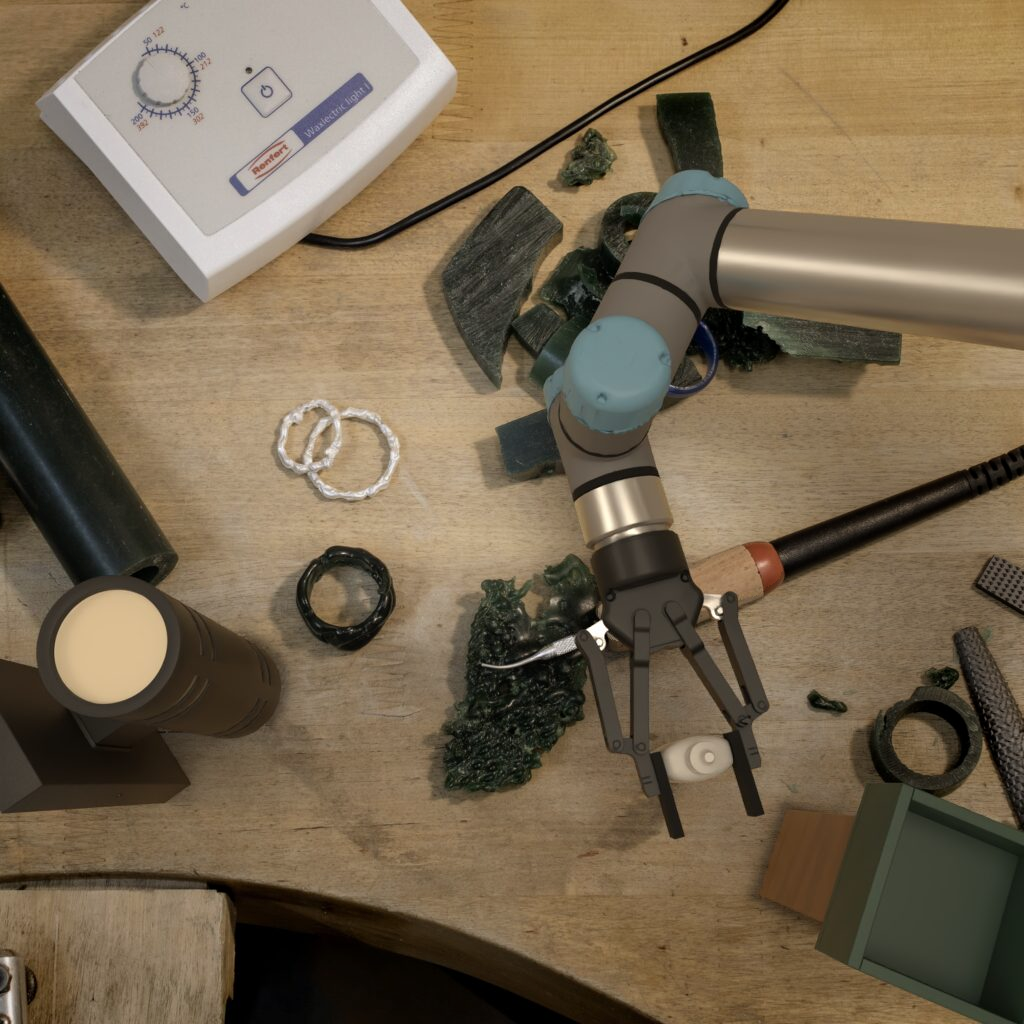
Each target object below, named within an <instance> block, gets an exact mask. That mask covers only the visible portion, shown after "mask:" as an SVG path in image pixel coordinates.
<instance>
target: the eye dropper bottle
mask: <svg viewBox="0 0 1024 1024" xmlns="http://www.w3.org/2000/svg"><path fill="white" fill-rule="evenodd" d="M658 751H660V752H661V755H662V759H663V762H664V766H665V769H666V772H667V776H668V779H669V783H670V784H671V783H672V784H673V783H677V784H678V783H679V784H680V783H681V784H682V783H684V784H685V783H686V784H687V783H699V782H704V781H709V780H711V779H714V778H716V777H718V776H720V775H722V774H724V773H725V772H726V771H728V770H729V769H730V768H731V767H732V764H733V755H732V751H731V747H730V744H729V742H728V741H727V740H726V739H724V738H723V737H721V736H720V737H719V736H716V735H694V736H688V737H685V738H681V739H677V740H672V741H669V742H667V743H665V744H662V745H660V746H659V747H657V748H655V749H654V750H652V751H651V753H654V752H658Z"/></svg>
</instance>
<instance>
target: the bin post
mask: <svg viewBox="0 0 1024 1024" xmlns="http://www.w3.org/2000/svg"><path fill="white" fill-rule="evenodd" d="M855 818H856V815H854V814H843V813H831V812H821V811H811V810H801V809H799V810H798V809H788V808H787V809H786V811H785V813H784V817H783V820H782V823H781V826H780V829H779V831H778V832H779V833H778V835H777V838H776V842H775V843H774V848H773V850H772V854H771V855H770V859H769V863H768V865H767V867H766V871H765V875H764V877H763V881H762V883H761V887H760V889H759V892H758V896H761V897H763V898H764V899H767V900H770V901H772V902H775V903H776V904H779V905H782V906H783V907H786V908H788V909H791V910H793V911H795V912H798V913H800V914H803V915H805V916H807V917H809V918H812V919H814V920H816V921H819V922H821V923H823V920H824V916H825V913H826V910H827V907H828V904H829V900H830V897H831V894H832V891H833V888H834V885H835V881H836V878H837V875H838V872H839V869H840V866H841V862H842V859H843V856H844V853H845V850H846V846H847V843H848V840H849V837H850V834H851V831H852V827H853V824H854V821H855Z"/></svg>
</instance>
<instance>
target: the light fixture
mask: <svg viewBox="0 0 1024 1024" xmlns="http://www.w3.org/2000/svg"><path fill="white" fill-rule="evenodd" d="M35 658H36V666H37V667H36V666H32V665H28V664H24V663H20V662H17V661H16V662H15V661H12V660H9V659H8V660H7V659H4V658H0V813H1V814H2V815H4V814H5V815H6V814H20V813H21V814H22V813H33V812H34V813H35V812H49V811H65V810H79V809H83V810H84V809H95V808H96V809H97V808H113V807H127V806H129V807H130V806H141V805H142V806H143V805H156V804H157V805H159V804H166V803H167V802H168V801H170V800H171V799H172V798H174V797H175V796H177V795H178V794H180V793H182V792H183V791H185V789H187V788H188V787H190V786H191V785H192V783H191V781H190V779H189V778H188V776H187V775H186V772H185V771H184V769H183V768H182V767H181V765H180V763H179V761H178V760H177V759H176V757H175V755H174V753H173V752H172V750H171V749H170V747H169V745H168V744H167V742H166V740H165V739H164V738H163V736H162V734H161V733H160V731H159V729H163V730H164V729H165V730H169V731H175V732H181V733H187V734H194V735H199V736H200V735H201V736H206V737H212V738H217V739H226V740H228V739H229V740H231V739H239V738H244V737H246V736H249V735H251V734H253V733H255V732H256V731H258V730H260V729H261V728H262V727H263V726H264V725H265V724H266V723H267V722H268V721H269V720H270V719H271V717H272V716H273V715H274V714H275V711H276V709H277V707H278V706H279V702H280V698H281V693H282V680H281V674H280V671H279V668H278V666H277V664H276V662H275V661H274V660H273V658H272V657H271V656H270V654H269V653H268V652H267V651H265V650H264V649H263V648H262V647H260V646H258V645H256V644H255V643H253V642H251V641H250V640H248V639H246V638H244V637H243V636H241V635H239V634H237V633H235V632H234V631H232V630H231V629H229V628H227V627H225V626H224V625H222V624H221V623H218V622H217V621H215V620H213V619H212V618H209V617H208V616H206V615H205V614H203V613H201V612H199V611H198V610H196V609H194V608H192V607H191V606H189V605H187V604H185V603H184V602H182V601H180V600H179V599H177V598H175V597H173V596H171V595H170V594H168V593H167V592H165V591H162V589H159V588H157V587H156V586H155V585H153V584H151V583H149V582H147V581H145V580H143V579H141V578H139V577H134V576H131V575H125V574H106V575H101V576H100V575H98V576H95V577H92V578H89V579H87V580H84V581H82V582H79V583H78V584H76V585H74V586H73V587H71V588H70V589H68V590H67V591H66V592H65V593H63V594H62V595H61V596H60V597H59V598H58V599H57V600H56V601H55V602H54V604H53V605H52V606H51V607H50V609H49V610H48V612H47V613H46V615H45V617H44V619H43V621H42V624H41V626H40V628H39V632H38V634H37V639H36V647H35Z"/></svg>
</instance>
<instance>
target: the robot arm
mask: <svg viewBox="0 0 1024 1024" xmlns="http://www.w3.org/2000/svg"><path fill="white" fill-rule="evenodd" d="M709 308H713V309H714V308H716V309H725V310H730V311H731V310H732V311H742V312H749V313H756V314H761V315H762V314H763V315H770V316H778V317H783V318H789V319H790V318H791V319H798V320H804V321H805V320H806V321H812V322H819V323H826V324H832V325H838V326H839V325H841V326H847V327H854V328H862V329H869V330H874V331H882V332H889V333H895V334H902V335H910V336H916V337H923V338H932V339H939V340H943V341H944V340H945V341H952V342H953V341H954V342H959V343H966V344H972V345H979V346H980V345H981V346H987V347H995V348H1001V349H1007V350H1008V349H1009V350H1015V351H1023V352H1024V228H1017V227H1003V226H988V225H977V224H963V223H962V224H961V223H947V222H936V221H923V220H909V219H897V218H883V217H869V216H855V215H841V214H829V213H828V214H827V213H817V212H816V213H815V212H803V211H802V212H800V211H787V210H776V209H775V210H774V209H763V208H762V209H761V208H750V205H749V202H748V198H747V197H746V196H745V194H744V192H743V191H742V190H741V189H740V188H739V187H738V186H737V185H735V184H734V183H733V182H732V181H731V180H729V179H727V178H726V177H723V176H720V177H716V176H713V175H712V174H711V173H710V172H709V171H707V170H702V169H686V170H681V171H679V172H676V173H674V174H673V175H671V176H670V177H668V178H667V179H666V180H665V181H664V183H663V184H662V185H661V187H660V189H659V191H658V192H657V193H656V195H655V196H654V198H653V200H652V201H651V203H650V204H649V206H648V207H647V209H646V210H645V212H644V213H643V215H642V217H641V219H640V221H639V225H638V228H637V231H636V233H635V235H634V237H633V239H632V240H631V242H630V245H629V246H628V249H627V251H626V253H625V255H624V257H623V259H622V260H621V263H620V264H619V268H618V269H617V271H616V273H615V276H614V277H613V279H612V280H611V282H610V284H609V285H608V288H607V289H606V291H605V293H604V295H603V297H602V299H601V301H600V303H599V305H598V307H597V309H596V311H595V313H594V314H593V316H592V318H591V321H590V323H589V324H588V325H587V327H585V328H583V329H582V330H581V331H580V332H579V334H577V336H576V338H575V339H574V341H573V343H572V345H571V347H570V350H569V354H568V355H567V357H566V359H564V361H563V362H564V363H563V365H561V366H559V368H556V369H555V370H554V372H553V374H551V375H549V376H548V377H547V378H546V380H545V382H544V384H543V387H542V393H543V398H544V402H545V407H546V412H547V415H546V419H547V421H548V422H547V424H548V425H549V427H550V428H551V429H552V433H553V436H554V440H555V443H556V446H557V450H558V452H559V456H560V458H561V463H562V466H563V469H564V473H565V476H566V480H567V482H568V485H569V489H570V493H571V497H572V501H573V505H574V508H575V512H576V515H577V518H578V522H579V526H580V530H581V534H582V537H583V540H584V541H583V542H584V544H585V548H587V549H589V550H591V551H594V552H593V553H592V554H591V556H590V558H589V562H590V565H591V569H592V573H593V577H594V579H595V583H596V587H597V590H598V594H599V597H600V600H601V612H600V613H601V614H600V620H599V621H597V622H596V623H594V624H593V625H591V626H590V627H587V628H586V629H584V628H583V629H580V630H578V632H577V633H576V634H575V637H574V639H573V643H574V645H575V647H576V648H577V650H578V652H579V653H580V654H581V656H582V657H583V659H584V661H585V663H586V667H587V671H588V675H589V680H590V685H591V687H592V693H593V696H594V702H595V706H596V709H597V714H598V718H599V723H600V727H601V731H602V735H603V741H604V745H605V748H606V751H608V752H609V753H611V754H618V755H620V754H621V755H627V756H629V757H630V758H631V759H632V760H633V762H634V767H635V770H636V773H637V777H638V780H639V784H640V788H641V791H642V793H643V794H644V796H645V797H646V798H653V797H656V796H657V797H658V801H659V804H660V808H661V810H662V814H663V818H664V822H665V825H666V830H667V832H668V835H669V839H674V840H678V839H681V838H685V837H686V834H685V832H684V828H683V824H682V821H681V818H680V814H679V810H678V807H677V804H676V801H675V797H674V793H673V789H672V787H671V782H669V779H668V776H667V772H666V769H665V766H664V762H663V759H662V755H661V752H660V751H658V752H654V753H652V752H650V662H651V656H653V655H655V654H657V653H659V652H661V651H666V650H667V651H673V650H677V649H678V650H679V651H680V653H681V654H682V656H683V657H684V658H685V659H686V660H687V661H688V663H689V664H690V666H691V667H692V669H693V672H695V674H696V676H697V678H698V679H699V680H700V682H701V683H702V685H703V686H704V688H705V690H706V691H707V693H708V694H709V695H710V698H711V699H712V700H713V702H714V703H715V705H716V707H717V708H718V710H719V711H720V713H721V714H722V716H723V717H724V719H725V721H726V723H727V724H728V725H729V726H730V728H731V731H728V732H727V731H726V732H724V733H722V738H724V739H726V740H727V741H728V742H729V744H730V747H731V751H732V755H733V764H732V766H731V767H732V771H733V774H734V777H735V780H736V783H737V786H738V790H739V793H740V796H741V800H742V802H743V806H744V808H745V813H746V816H747V817H752V818H757V817H761V816H764V815H766V814H765V813H766V812H765V810H764V806H763V803H762V800H761V797H760V794H759V791H758V790H759V789H758V787H757V784H756V781H755V777H754V774H753V771H752V770H755V769H758V768H761V767H762V756H761V754H760V751H759V747H758V745H757V741H756V738H755V734H754V732H753V723H754V721H755V720H756V719H758V718H760V717H761V716H762V715H763V714H765V713H767V712H768V711H769V709H770V702H769V699H768V697H767V694H766V691H765V688H764V685H763V683H762V681H761V678H760V675H759V672H758V670H757V666H756V664H755V660H754V658H753V656H752V653H751V651H750V648H749V645H748V643H747V640H746V637H745V635H744V632H743V631H744V630H743V629H742V626H741V623H740V621H739V598H738V597H739V596H738V595H737V593H736V592H734V591H732V590H728V591H725V592H724V593H723V594H722V593H704V592H703V590H702V589H701V588H700V587H699V586H698V585H697V584H696V583H695V581H694V580H693V578H692V575H691V571H690V569H689V565H688V561H687V558H686V555H685V551H684V549H683V545H682V542H681V539H680V535H679V534H678V533H676V531H674V530H671V528H672V526H673V525H674V523H675V520H674V516H673V513H672V511H671V507H670V503H669V501H668V497H667V495H666V492H665V488H664V484H663V482H662V479H661V475H660V473H659V470H658V467H657V465H656V461H655V457H654V453H653V450H652V446H651V443H650V440H649V432H650V429H651V427H652V424H653V421H654V419H655V418H656V416H657V414H658V412H659V410H660V409H661V408H662V407H663V403H664V399H665V397H666V395H667V394H668V392H669V390H670V386H671V384H672V382H673V380H674V377H675V375H676V373H677V371H678V369H679V367H680V365H681V362H682V360H683V359H684V357H685V354H686V352H687V350H688V347H690V343H691V342H692V340H693V337H694V336H695V333H696V332H697V330H698V328H699V326H700V324H701V323H702V319H703V317H705V316H704V315H705V314H706V312H707V310H708V309H709ZM702 608H703V609H705V610H706V611H707V612H708V616H709V618H710V619H711V620H712V621H714V622H716V623H717V629H718V632H719V636H720V638H721V641H722V644H723V647H724V649H725V651H726V655H727V657H728V661H729V663H730V666H731V668H732V671H733V674H734V676H735V679H736V683H737V686H738V687H739V691H740V693H741V696H742V698H743V701H744V704H745V705H743V704H742V702H741V700H739V698H738V696H737V695H736V693H735V691H734V690H733V689H732V687H731V685H730V684H729V682H728V681H727V679H726V677H725V676H724V675H723V673H722V671H721V670H720V668H719V667H718V666H717V663H716V662H715V661H714V659H713V658H712V656H711V654H710V653H709V651H708V650H707V648H706V646H705V643H704V642H703V639H702V638H701V637H700V635H699V633H698V632H697V630H696V626H697V623H698V620H699V617H700V614H701V612H702V610H703V609H702ZM606 633H608V634H610V635H611V636H612V637H613V638H615V640H617V641H618V642H619V643H620V644H622V645H623V646H624V647H626V648H627V649H628V666H629V737H624V736H623V732H622V727H621V722H620V718H619V714H618V710H617V706H616V702H615V701H616V700H615V698H614V693H613V688H612V685H611V684H612V683H611V681H610V680H611V679H610V675H609V672H608V667H607V662H606V659H605V656H604V654H603V652H602V651H604V650H605V648H606V646H607V642H606V639H605V638H606V637H605V635H606Z"/></svg>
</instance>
